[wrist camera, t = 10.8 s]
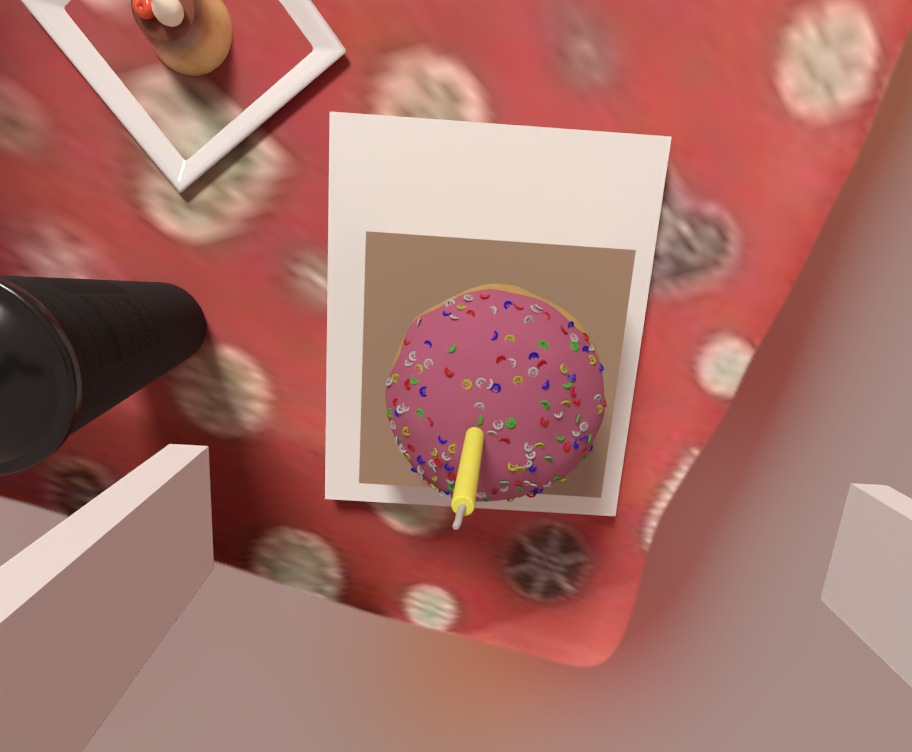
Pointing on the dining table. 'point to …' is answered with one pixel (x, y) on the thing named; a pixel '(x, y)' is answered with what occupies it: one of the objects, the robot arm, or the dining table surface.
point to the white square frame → (187, 69)
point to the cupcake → (495, 395)
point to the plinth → (480, 208)
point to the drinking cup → (82, 354)
